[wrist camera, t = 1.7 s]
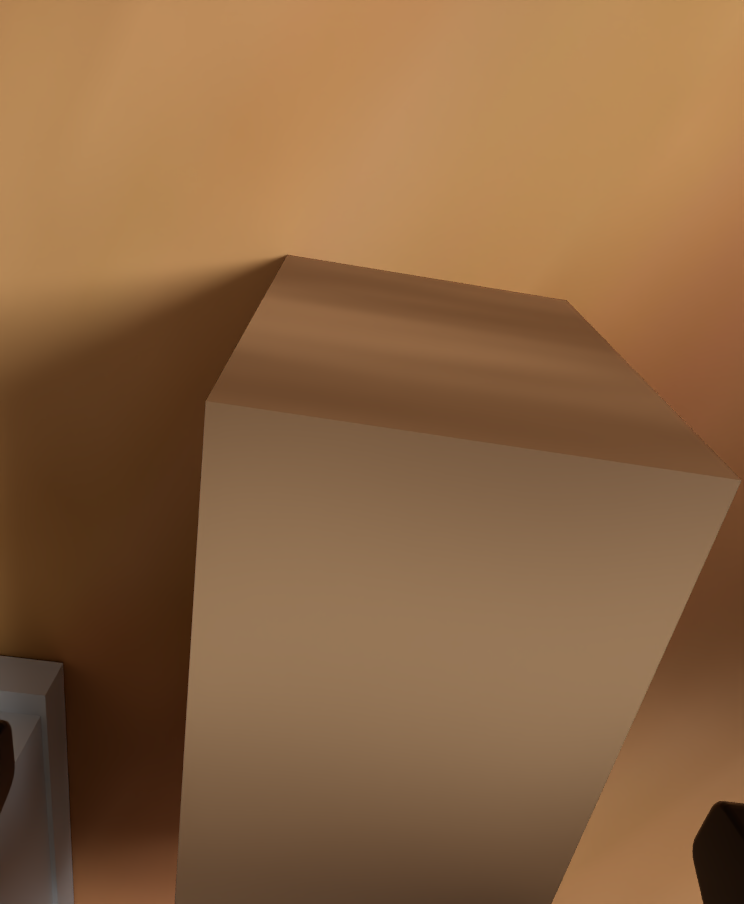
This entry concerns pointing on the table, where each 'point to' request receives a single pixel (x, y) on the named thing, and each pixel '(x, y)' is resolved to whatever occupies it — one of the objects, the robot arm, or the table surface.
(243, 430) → the brown rectangular block
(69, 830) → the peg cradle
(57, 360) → the table surface
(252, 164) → the table surface
